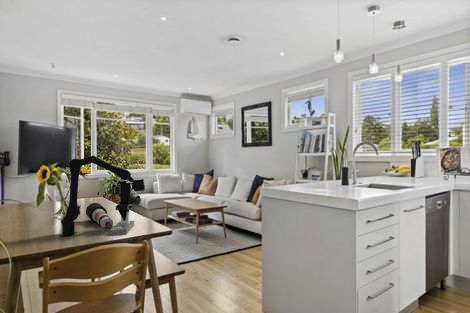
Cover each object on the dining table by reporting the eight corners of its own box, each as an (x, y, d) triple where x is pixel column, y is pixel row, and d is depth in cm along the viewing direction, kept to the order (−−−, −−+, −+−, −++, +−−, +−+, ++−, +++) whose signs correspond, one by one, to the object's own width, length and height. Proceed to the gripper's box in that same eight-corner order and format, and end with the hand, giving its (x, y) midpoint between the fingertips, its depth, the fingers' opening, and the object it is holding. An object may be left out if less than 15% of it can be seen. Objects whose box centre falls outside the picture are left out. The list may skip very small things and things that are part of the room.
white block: (128, 227, 167) (128, 213, 167) (121, 228, 167) (120, 213, 167) (130, 226, 171) (129, 212, 171) (122, 226, 171) (122, 212, 171)
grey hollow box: (126, 236, 154) (126, 228, 154) (110, 237, 153) (110, 229, 153) (134, 226, 174) (134, 219, 173) (120, 227, 173) (119, 220, 172)
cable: (105, 239, 165) (97, 224, 161) (90, 221, 191) (82, 208, 187) (122, 228, 170) (114, 213, 166) (105, 212, 196) (98, 199, 192)
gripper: (136, 194, 161) (137, 223, 161) (143, 189, 179) (143, 215, 179) (115, 194, 159) (115, 224, 159) (123, 190, 178) (123, 216, 178)
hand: (125, 219), depth 169 cm, fingers open, 4 cm apart
